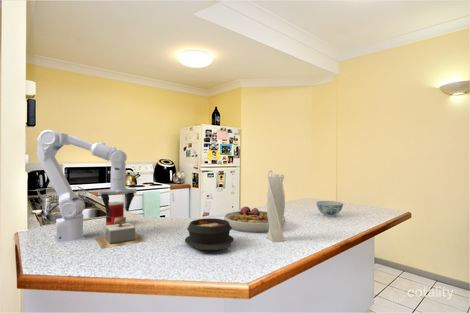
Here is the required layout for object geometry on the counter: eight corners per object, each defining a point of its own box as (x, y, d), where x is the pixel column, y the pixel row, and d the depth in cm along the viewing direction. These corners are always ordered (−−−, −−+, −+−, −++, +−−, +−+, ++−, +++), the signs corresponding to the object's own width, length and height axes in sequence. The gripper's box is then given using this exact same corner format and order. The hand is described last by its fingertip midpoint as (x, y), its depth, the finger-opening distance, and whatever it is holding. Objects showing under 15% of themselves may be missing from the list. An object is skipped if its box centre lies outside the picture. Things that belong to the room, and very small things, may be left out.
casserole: (183, 236, 112) (183, 216, 112) (226, 234, 117) (226, 214, 117) (186, 257, 88) (187, 231, 88) (241, 253, 92) (241, 228, 93)
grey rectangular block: (110, 244, 99) (110, 230, 99) (105, 238, 106) (105, 225, 106) (137, 240, 105) (137, 226, 105) (131, 234, 112) (131, 222, 112)
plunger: (112, 240, 100) (112, 220, 100) (108, 236, 106) (109, 217, 106) (131, 237, 104) (132, 218, 105) (127, 233, 110) (127, 215, 110)
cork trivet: (101, 250, 94) (101, 248, 94) (94, 239, 107) (94, 238, 107) (147, 242, 103) (147, 241, 103) (135, 233, 116) (135, 232, 116)
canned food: (126, 223, 135) (126, 201, 135) (117, 227, 127) (118, 204, 127) (111, 223, 135) (112, 201, 136) (102, 227, 127) (102, 203, 128)
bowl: (297, 231, 124) (297, 214, 124) (237, 237, 113) (237, 218, 113) (266, 218, 152) (267, 204, 152) (216, 222, 141) (216, 207, 141)
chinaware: (345, 215, 161) (345, 202, 161) (340, 219, 148) (340, 205, 148) (319, 212, 169) (319, 200, 169) (313, 216, 156) (313, 203, 156)
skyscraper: (262, 237, 111) (262, 170, 112) (278, 236, 114) (278, 170, 114) (271, 243, 104) (272, 171, 104) (288, 241, 106) (288, 170, 107)
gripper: (100, 180, 104) (99, 215, 104) (138, 179, 112) (138, 211, 112) (97, 179, 110) (96, 212, 110) (134, 178, 118) (133, 209, 118)
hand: (117, 211), depth 111 cm, fingers open, 7 cm apart
